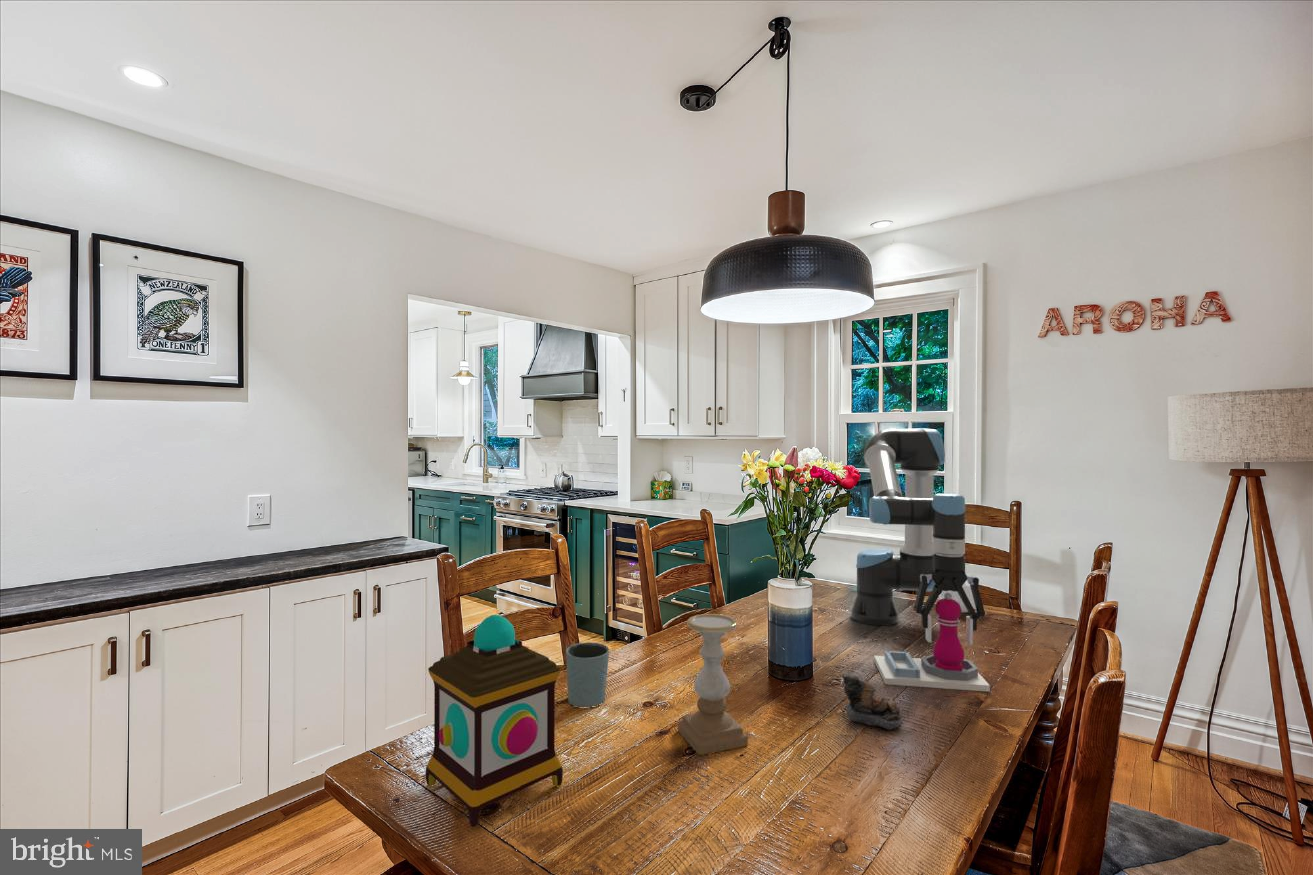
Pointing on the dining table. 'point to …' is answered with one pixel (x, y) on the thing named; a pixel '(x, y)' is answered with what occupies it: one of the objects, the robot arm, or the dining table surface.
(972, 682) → the holder board
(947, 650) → the pepper mill
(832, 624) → the dining table surface
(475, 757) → the decorative lantern
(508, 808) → the dining table surface
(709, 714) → the candle holder
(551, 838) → the dining table surface
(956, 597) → the geodesic sphere
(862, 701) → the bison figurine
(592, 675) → the blue grey cup
